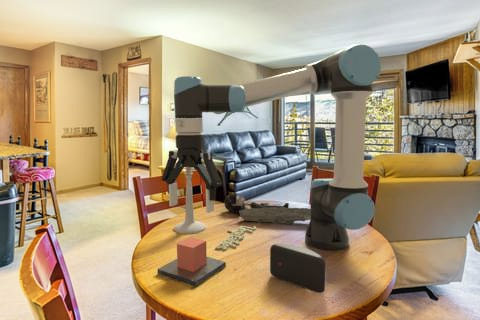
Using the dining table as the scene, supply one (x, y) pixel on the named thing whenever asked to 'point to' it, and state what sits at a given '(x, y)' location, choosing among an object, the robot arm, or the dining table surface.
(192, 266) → the salmon pink cube
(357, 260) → the dining table surface
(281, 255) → the leaning round-cornered charcoal block
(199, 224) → the candlestick
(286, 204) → the figurine
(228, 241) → the decorative sign
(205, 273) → the gray slab
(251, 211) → the stone fragment
